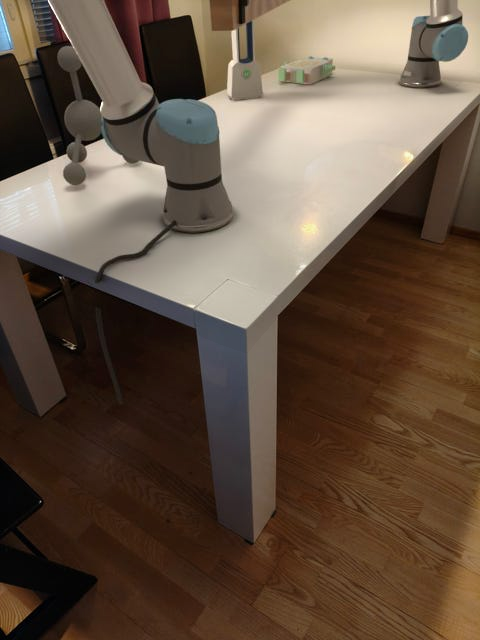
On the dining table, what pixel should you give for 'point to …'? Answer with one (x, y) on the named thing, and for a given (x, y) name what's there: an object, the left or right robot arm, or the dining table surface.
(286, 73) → the decorative block
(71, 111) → the molecular model
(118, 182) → the dining table surface
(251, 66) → the electronic device
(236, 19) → the post
